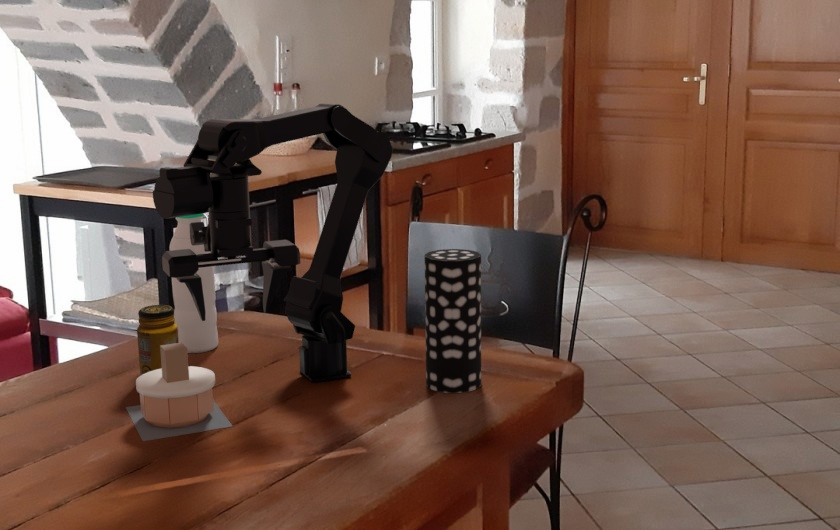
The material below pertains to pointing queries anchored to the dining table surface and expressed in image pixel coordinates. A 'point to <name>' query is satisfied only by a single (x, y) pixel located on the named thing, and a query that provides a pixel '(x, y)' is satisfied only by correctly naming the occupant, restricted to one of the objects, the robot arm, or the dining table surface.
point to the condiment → (155, 335)
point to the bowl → (177, 409)
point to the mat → (153, 432)
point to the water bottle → (187, 318)
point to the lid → (175, 376)
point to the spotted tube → (453, 320)
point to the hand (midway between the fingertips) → (234, 316)
